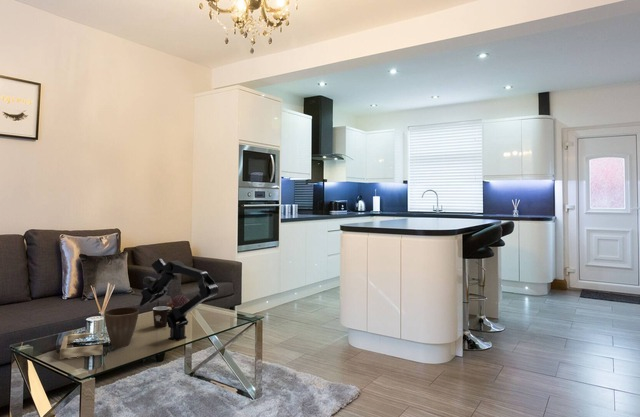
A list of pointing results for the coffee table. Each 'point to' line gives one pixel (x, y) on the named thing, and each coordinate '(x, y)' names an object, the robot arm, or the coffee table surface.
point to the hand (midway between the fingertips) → (144, 304)
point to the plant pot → (121, 325)
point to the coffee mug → (160, 316)
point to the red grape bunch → (178, 301)
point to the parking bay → (78, 351)
